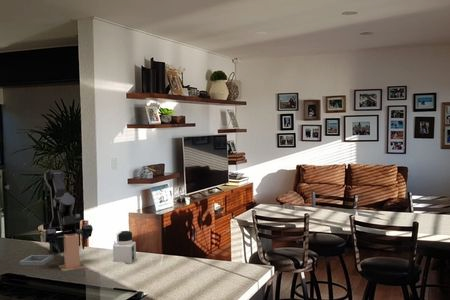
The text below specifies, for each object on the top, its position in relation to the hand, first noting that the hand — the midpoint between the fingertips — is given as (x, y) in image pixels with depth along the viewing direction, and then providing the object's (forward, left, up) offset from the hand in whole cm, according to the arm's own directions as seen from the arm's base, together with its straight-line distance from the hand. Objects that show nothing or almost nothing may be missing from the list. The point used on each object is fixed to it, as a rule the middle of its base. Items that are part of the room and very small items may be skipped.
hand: (72, 250), depth 184 cm
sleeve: (0, -1, -7) cm, 7 cm away
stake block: (0, -1, -8) cm, 8 cm away
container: (-20, +8, -8) cm, 23 cm away
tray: (+5, -20, -8) cm, 22 cm away
